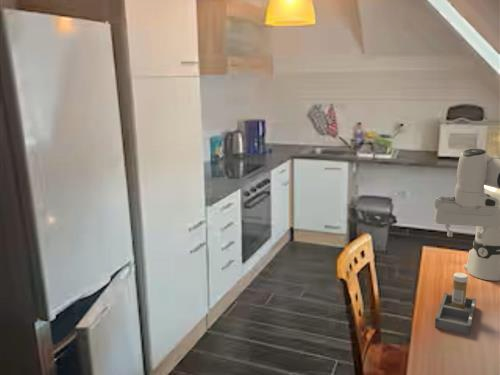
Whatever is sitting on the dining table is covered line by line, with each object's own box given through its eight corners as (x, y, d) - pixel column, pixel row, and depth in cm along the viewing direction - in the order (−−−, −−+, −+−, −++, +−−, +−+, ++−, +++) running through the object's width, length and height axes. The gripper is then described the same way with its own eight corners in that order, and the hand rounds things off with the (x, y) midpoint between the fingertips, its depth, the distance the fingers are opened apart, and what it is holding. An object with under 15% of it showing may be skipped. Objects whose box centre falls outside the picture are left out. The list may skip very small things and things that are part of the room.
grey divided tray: (443, 301, 174) (444, 292, 173) (475, 308, 169) (476, 298, 168) (434, 328, 156) (435, 318, 155) (469, 336, 151) (470, 325, 150)
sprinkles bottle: (467, 310, 166) (470, 275, 163) (459, 314, 163) (462, 278, 160) (455, 305, 170) (458, 270, 166) (447, 309, 167) (450, 274, 164)
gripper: (437, 198, 156) (433, 238, 159) (504, 202, 152) (499, 242, 155) (434, 194, 162) (430, 232, 165) (499, 197, 158) (494, 236, 161)
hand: (464, 237), depth 160 cm, fingers open, 8 cm apart
